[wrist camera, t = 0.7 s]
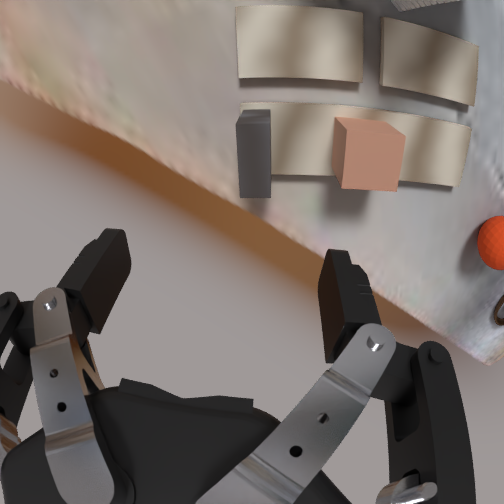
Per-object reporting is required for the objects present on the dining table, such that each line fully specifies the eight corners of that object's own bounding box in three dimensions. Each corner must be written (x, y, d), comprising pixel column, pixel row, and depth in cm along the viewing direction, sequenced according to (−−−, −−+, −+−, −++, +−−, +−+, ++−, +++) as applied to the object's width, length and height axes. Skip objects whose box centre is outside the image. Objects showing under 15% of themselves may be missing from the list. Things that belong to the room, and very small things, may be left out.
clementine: (515, 217, 29) (542, 247, 23) (492, 254, 33) (514, 287, 28) (485, 198, 28) (515, 230, 23) (460, 241, 32) (484, 277, 27)
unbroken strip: (466, 126, 23) (504, 148, 18) (455, 183, 28) (486, 214, 22) (240, 102, 25) (231, 117, 20) (244, 170, 29) (236, 203, 24)
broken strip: (473, 45, 18) (478, 46, 17) (469, 104, 22) (474, 106, 21) (236, 8, 19) (235, 6, 19) (239, 77, 24) (238, 78, 23)
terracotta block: (385, 121, 24) (405, 136, 20) (379, 169, 27) (396, 191, 23) (334, 116, 24) (346, 129, 20) (331, 166, 27) (341, 188, 23)
